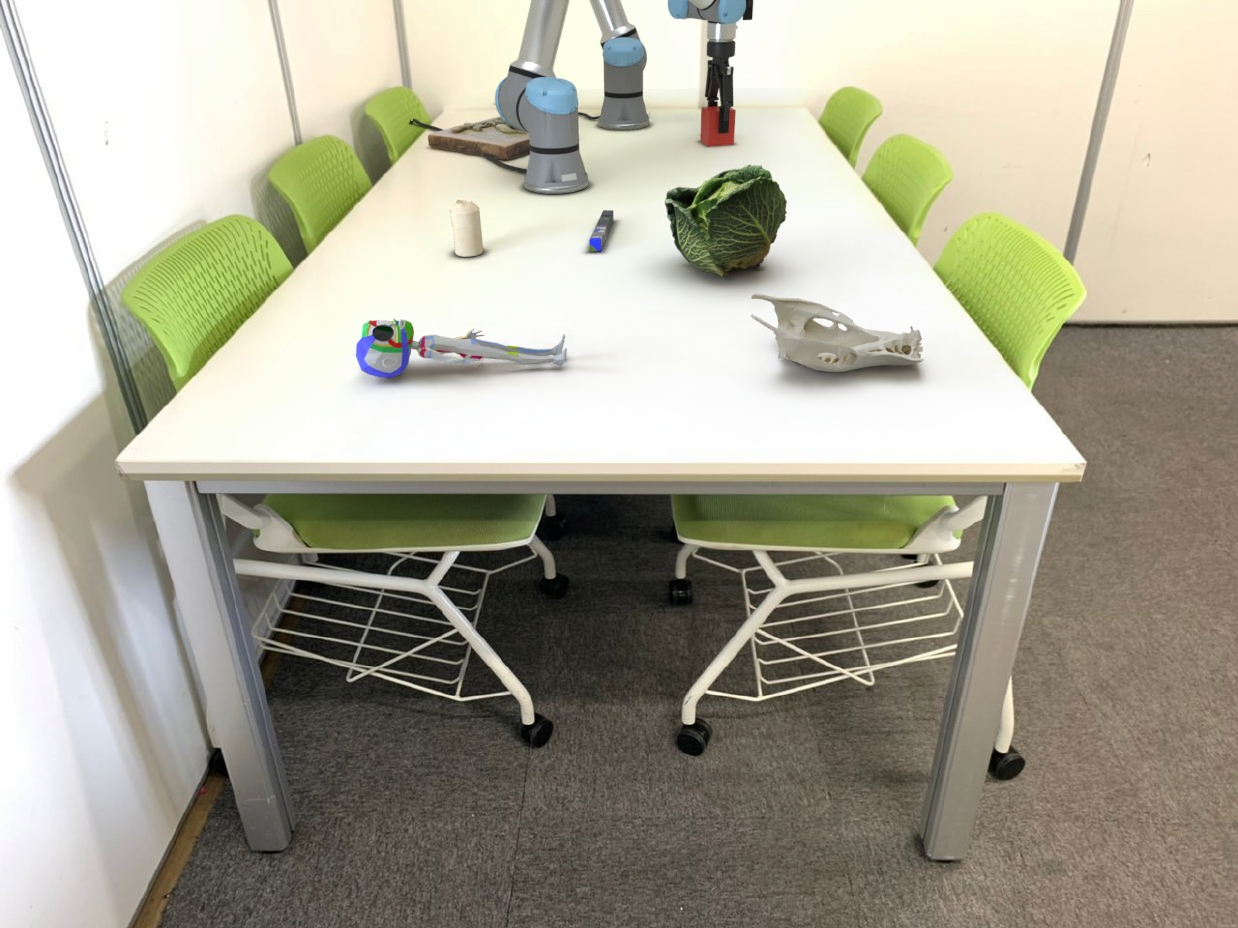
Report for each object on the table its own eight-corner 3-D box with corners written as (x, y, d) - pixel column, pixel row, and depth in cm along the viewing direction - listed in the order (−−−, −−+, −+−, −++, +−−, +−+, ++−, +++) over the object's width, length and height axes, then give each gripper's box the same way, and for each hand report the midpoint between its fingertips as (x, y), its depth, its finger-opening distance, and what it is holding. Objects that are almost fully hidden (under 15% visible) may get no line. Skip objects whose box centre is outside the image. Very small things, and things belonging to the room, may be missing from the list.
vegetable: (694, 294, 173) (643, 202, 166) (775, 239, 175) (728, 145, 167) (734, 307, 155) (678, 205, 147) (824, 245, 156) (773, 141, 149)
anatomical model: (752, 284, 135) (923, 286, 131) (750, 340, 140) (914, 344, 136) (749, 325, 123) (938, 328, 119) (747, 384, 127) (928, 390, 124)
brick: (708, 146, 247) (709, 112, 242) (700, 141, 252) (701, 107, 248) (733, 144, 249) (735, 110, 244) (725, 139, 254) (727, 105, 249)
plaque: (505, 133, 232) (424, 120, 247) (507, 161, 236) (427, 146, 250) (578, 114, 253) (499, 103, 268) (578, 140, 256) (500, 128, 271)
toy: (569, 347, 126) (349, 329, 122) (563, 400, 131) (350, 385, 126) (565, 318, 135) (359, 301, 130) (559, 369, 139) (360, 354, 134)
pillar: (613, 210, 190) (600, 241, 173) (613, 220, 191) (600, 251, 174) (603, 210, 190) (589, 240, 173) (603, 220, 191) (589, 251, 174)
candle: (488, 249, 176) (483, 198, 171) (475, 258, 172) (470, 206, 167) (463, 246, 178) (457, 196, 173) (450, 255, 174) (443, 204, 168)
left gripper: (749, 44, 228) (744, 137, 240) (720, 34, 246) (717, 121, 258) (721, 46, 227) (717, 139, 239) (694, 36, 244) (692, 122, 256)
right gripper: (772, -65, 244) (767, 21, 256) (739, -67, 265) (735, 12, 276) (746, -64, 243) (742, 22, 254) (715, -67, 263) (712, 13, 275)
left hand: (717, 129), depth 248 cm, fingers open, 9 cm apart
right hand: (738, 17), depth 265 cm, fingers open, 13 cm apart
